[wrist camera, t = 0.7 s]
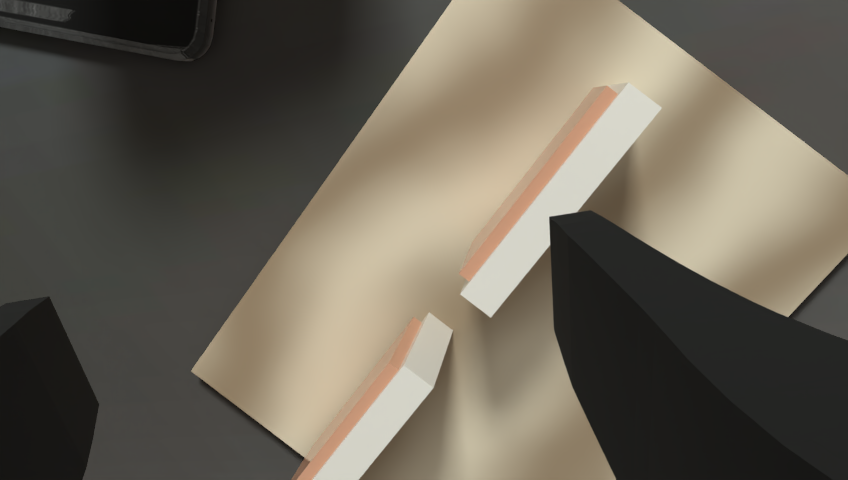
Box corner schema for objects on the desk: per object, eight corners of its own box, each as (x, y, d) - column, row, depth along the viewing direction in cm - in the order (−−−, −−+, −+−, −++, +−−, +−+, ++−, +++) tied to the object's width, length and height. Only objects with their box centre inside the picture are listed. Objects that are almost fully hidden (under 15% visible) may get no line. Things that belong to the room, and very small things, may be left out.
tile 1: (634, 105, 27) (662, 107, 21) (499, 273, 29) (490, 317, 23) (599, 78, 27) (617, 73, 21) (466, 248, 29) (449, 286, 23)
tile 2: (453, 330, 30) (433, 387, 24) (339, 471, 32) (295, 556, 26) (421, 306, 30) (393, 357, 24) (309, 448, 32) (259, 528, 26)
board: (880, 205, 27) (890, 208, 27) (509, 600, 32) (509, 613, 32) (510, -77, 27) (510, -82, 27) (199, 364, 32) (190, 371, 32)
